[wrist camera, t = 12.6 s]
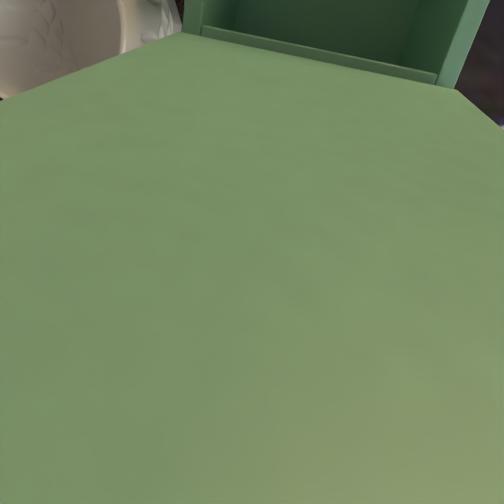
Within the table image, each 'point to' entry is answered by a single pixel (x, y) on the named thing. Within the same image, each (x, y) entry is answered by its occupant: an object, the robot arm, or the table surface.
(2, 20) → the white cup
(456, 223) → the bin lid
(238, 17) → the bin
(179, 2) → the table surface
